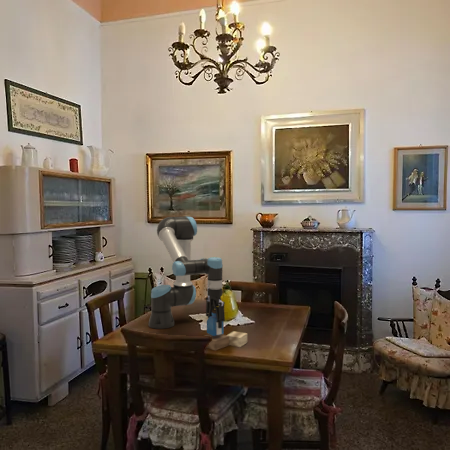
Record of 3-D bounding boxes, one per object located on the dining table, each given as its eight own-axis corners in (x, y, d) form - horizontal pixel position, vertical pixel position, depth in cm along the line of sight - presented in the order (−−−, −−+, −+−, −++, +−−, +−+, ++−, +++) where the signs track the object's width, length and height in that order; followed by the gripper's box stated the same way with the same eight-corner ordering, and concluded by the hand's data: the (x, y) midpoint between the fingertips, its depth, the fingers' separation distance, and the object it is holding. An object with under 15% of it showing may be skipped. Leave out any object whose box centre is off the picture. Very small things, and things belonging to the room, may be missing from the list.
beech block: (226, 344, 223) (226, 335, 222) (233, 340, 230) (233, 331, 229) (240, 347, 219) (240, 337, 218) (247, 342, 226) (247, 333, 225)
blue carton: (213, 336, 216) (213, 312, 216) (206, 332, 221) (206, 309, 221) (223, 333, 220) (223, 310, 219) (216, 330, 225) (216, 308, 224)
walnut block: (201, 346, 221) (201, 336, 221) (215, 341, 228) (215, 332, 228) (215, 351, 214) (215, 341, 214) (228, 345, 221) (228, 336, 221)
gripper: (198, 285, 225) (198, 329, 226) (219, 292, 209) (219, 338, 211) (210, 284, 229) (210, 326, 231) (232, 290, 214) (232, 335, 215)
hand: (215, 332), depth 221 cm, fingers closed on blue carton, 6 cm apart
